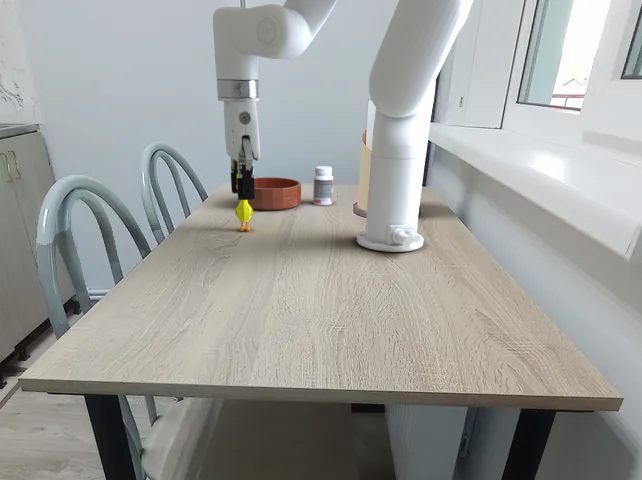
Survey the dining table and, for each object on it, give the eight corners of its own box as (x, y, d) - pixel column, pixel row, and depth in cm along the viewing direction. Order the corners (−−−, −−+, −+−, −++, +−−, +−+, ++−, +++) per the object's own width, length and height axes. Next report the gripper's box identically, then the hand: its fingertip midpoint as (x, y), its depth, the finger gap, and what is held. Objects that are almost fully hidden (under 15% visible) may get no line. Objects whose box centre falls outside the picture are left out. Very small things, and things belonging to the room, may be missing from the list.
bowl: (308, 209, 124) (309, 187, 122) (245, 213, 120) (244, 190, 118) (290, 196, 137) (290, 176, 134) (232, 199, 133) (231, 178, 130)
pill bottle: (335, 204, 129) (337, 168, 125) (317, 206, 128) (318, 169, 123) (327, 200, 133) (328, 165, 129) (310, 202, 131) (310, 166, 127)
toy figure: (254, 233, 105) (251, 168, 99) (236, 233, 104) (232, 168, 99) (252, 226, 111) (250, 165, 105) (235, 227, 110) (232, 165, 105)
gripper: (270, 93, 89) (272, 204, 98) (248, 90, 103) (252, 187, 112) (226, 93, 87) (232, 206, 96) (210, 89, 101) (216, 188, 110)
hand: (243, 195), depth 104 cm, fingers closed on toy figure, 5 cm apart
